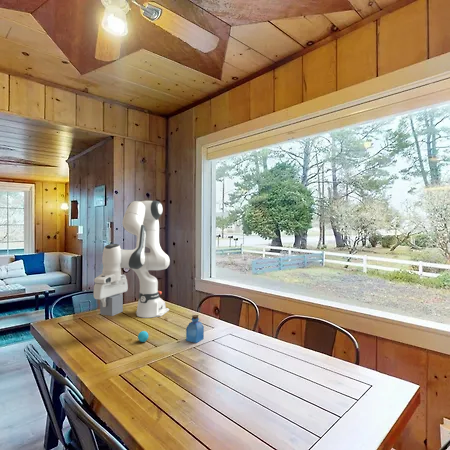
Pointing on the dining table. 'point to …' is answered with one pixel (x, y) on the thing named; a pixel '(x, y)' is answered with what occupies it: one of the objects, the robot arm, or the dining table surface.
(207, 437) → the dining table surface
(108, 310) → the gray cuboid
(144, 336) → the ball
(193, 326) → the perfume bottle
